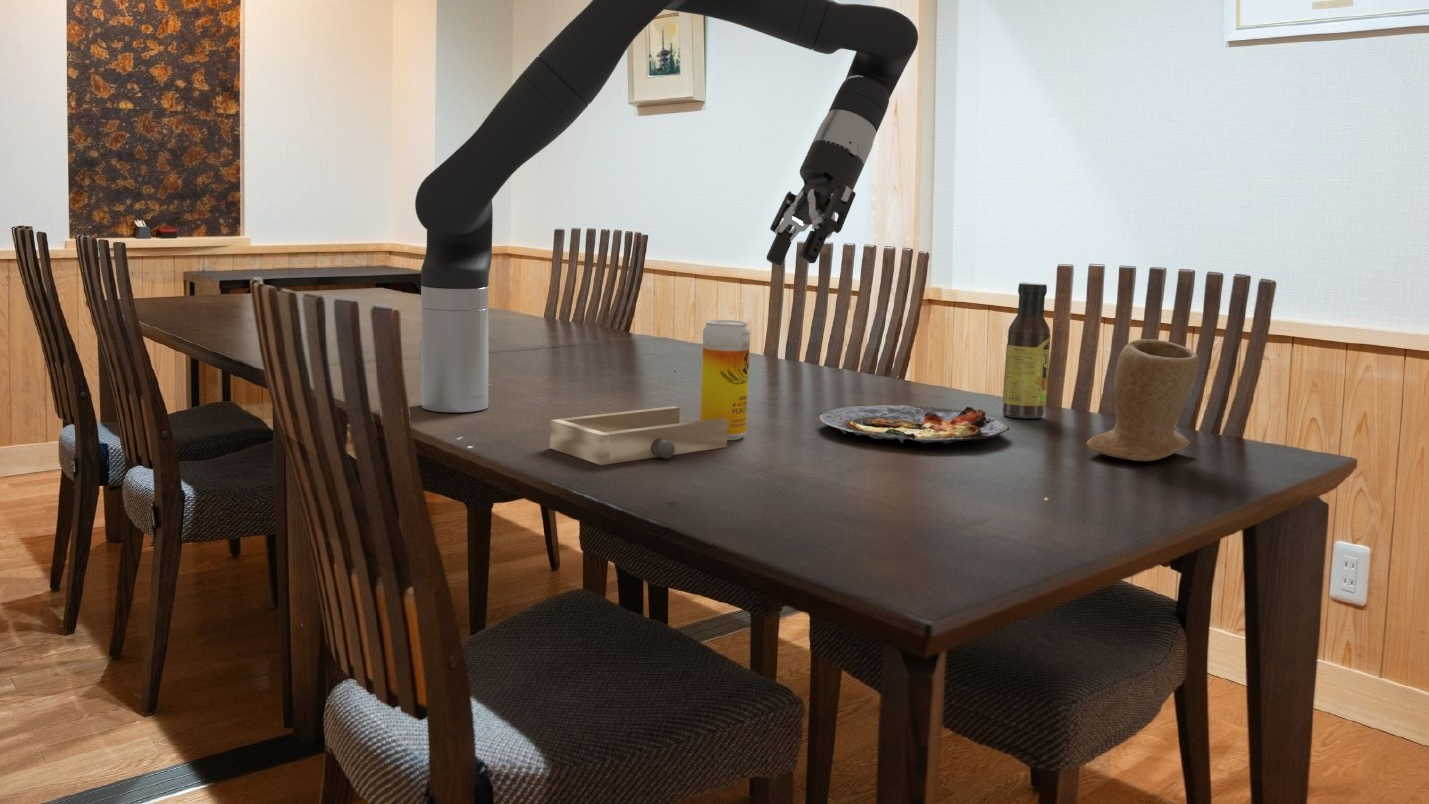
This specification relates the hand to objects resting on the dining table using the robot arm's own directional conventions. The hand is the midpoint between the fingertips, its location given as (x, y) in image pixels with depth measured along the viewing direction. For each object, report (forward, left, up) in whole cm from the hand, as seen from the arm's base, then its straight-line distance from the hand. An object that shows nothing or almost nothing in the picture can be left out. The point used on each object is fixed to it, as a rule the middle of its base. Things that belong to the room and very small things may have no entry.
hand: (789, 261), depth 157 cm
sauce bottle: (+9, +41, -23) cm, 48 cm away
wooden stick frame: (-3, -21, -23) cm, 31 cm away
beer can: (-3, -8, -23) cm, 25 cm away
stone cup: (+35, +31, -23) cm, 52 cm away
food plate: (+9, +16, -23) cm, 30 cm away
